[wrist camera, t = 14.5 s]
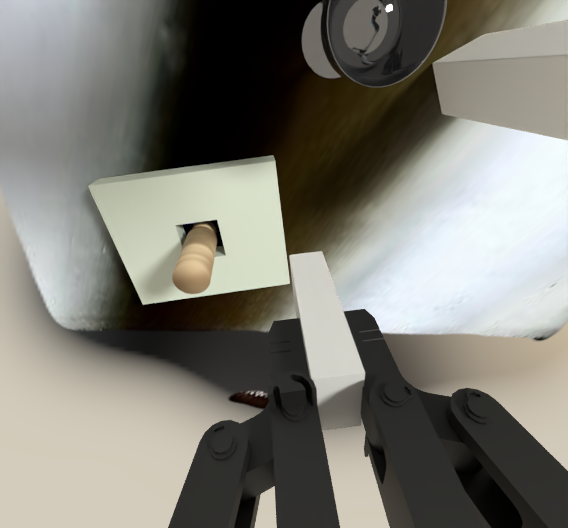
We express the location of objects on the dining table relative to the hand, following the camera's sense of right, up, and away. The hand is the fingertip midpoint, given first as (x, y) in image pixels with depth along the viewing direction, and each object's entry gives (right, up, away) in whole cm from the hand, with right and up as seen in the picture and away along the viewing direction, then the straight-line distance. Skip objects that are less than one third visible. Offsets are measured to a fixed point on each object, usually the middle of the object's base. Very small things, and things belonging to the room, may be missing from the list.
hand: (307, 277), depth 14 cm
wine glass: (+4, +25, +18) cm, 31 cm away
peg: (-12, +5, +28) cm, 32 cm away
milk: (+20, +23, +21) cm, 37 cm away
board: (-12, +5, +28) cm, 32 cm away
